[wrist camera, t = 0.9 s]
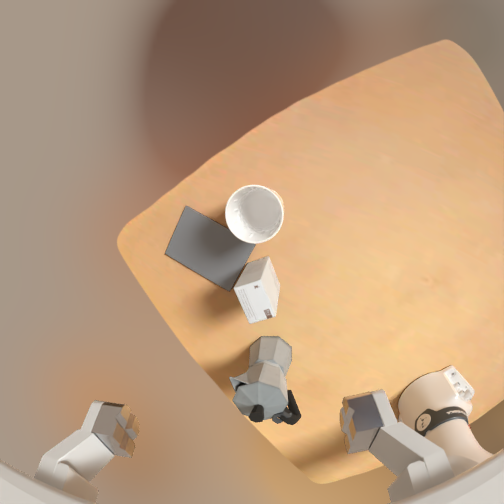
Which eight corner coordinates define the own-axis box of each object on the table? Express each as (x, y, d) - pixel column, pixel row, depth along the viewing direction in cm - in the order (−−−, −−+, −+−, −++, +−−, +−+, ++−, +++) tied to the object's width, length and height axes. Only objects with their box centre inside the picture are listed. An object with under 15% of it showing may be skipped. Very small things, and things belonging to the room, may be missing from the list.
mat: (255, 244, 50) (255, 244, 49) (230, 290, 53) (229, 291, 52) (186, 205, 50) (185, 205, 50) (166, 253, 53) (165, 253, 53)
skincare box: (246, 262, 51) (229, 287, 39) (270, 254, 50) (260, 277, 38) (259, 294, 52) (246, 325, 40) (282, 286, 51) (276, 317, 39)
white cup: (258, 240, 49) (247, 254, 40) (231, 202, 49) (213, 208, 39) (296, 213, 47) (295, 221, 38) (268, 174, 47) (259, 173, 37)
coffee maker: (232, 346, 55) (205, 407, 38) (261, 320, 53) (241, 379, 36) (286, 388, 56) (277, 453, 39) (317, 365, 53) (317, 431, 36)
